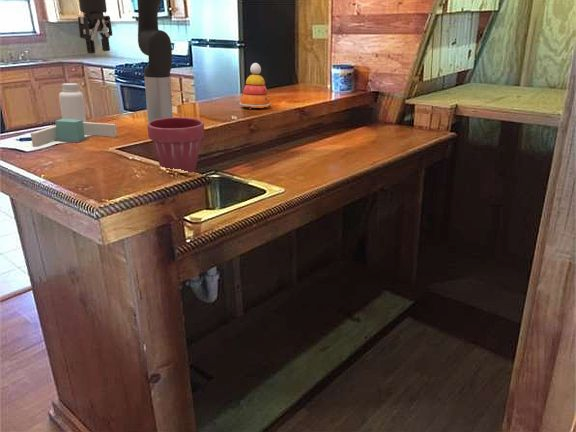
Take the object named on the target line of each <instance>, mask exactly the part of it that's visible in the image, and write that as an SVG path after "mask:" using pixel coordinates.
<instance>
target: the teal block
mask: <svg viewBox="0 0 576 432" xmlns="http://www.w3.org/2000/svg"><path fill="white" fill-rule="evenodd" d="M54 123H55V125H56V129H57V136H58V140H70V141H80V140H82V139H85V137H86V135H84V127H83V120H75V119H62V118H60V119H57V120H55V121H54Z"/></svg>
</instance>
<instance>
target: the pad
mask: <svg viewBox="0 0 576 432" xmlns="http://www.w3.org/2000/svg"><path fill="white" fill-rule="evenodd" d="M89 139H90V138H89V137H87V136H85V139H82V140H80V141H70V140H58V139H56V140H54V141H53V142H63V143H64V142H65V143H76V144H77V143H81V142H84V141H86V140H89Z"/></svg>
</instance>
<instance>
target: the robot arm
mask: <svg viewBox="0 0 576 432" xmlns="http://www.w3.org/2000/svg"><path fill="white" fill-rule="evenodd" d="M78 2H79V3H78V4H79V10H80V12H81V13H84V16H78V17H77V21H78V30H79V31H78V32H79V37H80V39H83V40H84V41H85V43H86V45H85V46H86V50H87V51H86V52H87V54H96V48H95V40H94V37H95V35H96V34H99V37H100V40H101V49H102V51H103V52H110V50H111V46H110V40H109V39H110V37H112V36H113V28H112V22H111V16H110V15H104V13H107V11H108V10H107V9H108V8H107V2H106V0H78ZM161 2H162V0H137V11H138V12H137V13H138V14H137V16H138V17H137V18H138V19H137V20H138V21H137V22H138V23H137V44H138V48H139V50H140V52H141V53H142V54H144V55H145V56H147V57H148V64H147V66H146V67H145V68H144V69H143V75H144V76H143V77H144V87H145V101H146V102H145V103H146V117H147V124H148V123H149V122H150V121H153V120H156V119H162V118H172V117H174V115H173V101H172V97H173V96H172V85H171V71H172V67H173V62H172V61H173V55H172V53H173V51H172V50H173V48H172V47H173V45H172V41H171V38H170V36H169V35H168V33H167V32H166V31H165V30H161V29H159V23H158V22H159V21H158V20H159V19H158V15H159V10H160V6H161Z"/></svg>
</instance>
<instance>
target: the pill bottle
mask: <svg viewBox="0 0 576 432" xmlns="http://www.w3.org/2000/svg"><path fill="white" fill-rule="evenodd" d="M61 90H62V91H60V92H59V95H58V100H59V108H60V114H61V119H75V120H83V122H87V116H86V115H87V114H86V109H85V99H84V94H83V92H81V91H80V90H79V84H78V83H76V82H72V83H71V82H69V83H67V82H66V83H62V84H61Z"/></svg>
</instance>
